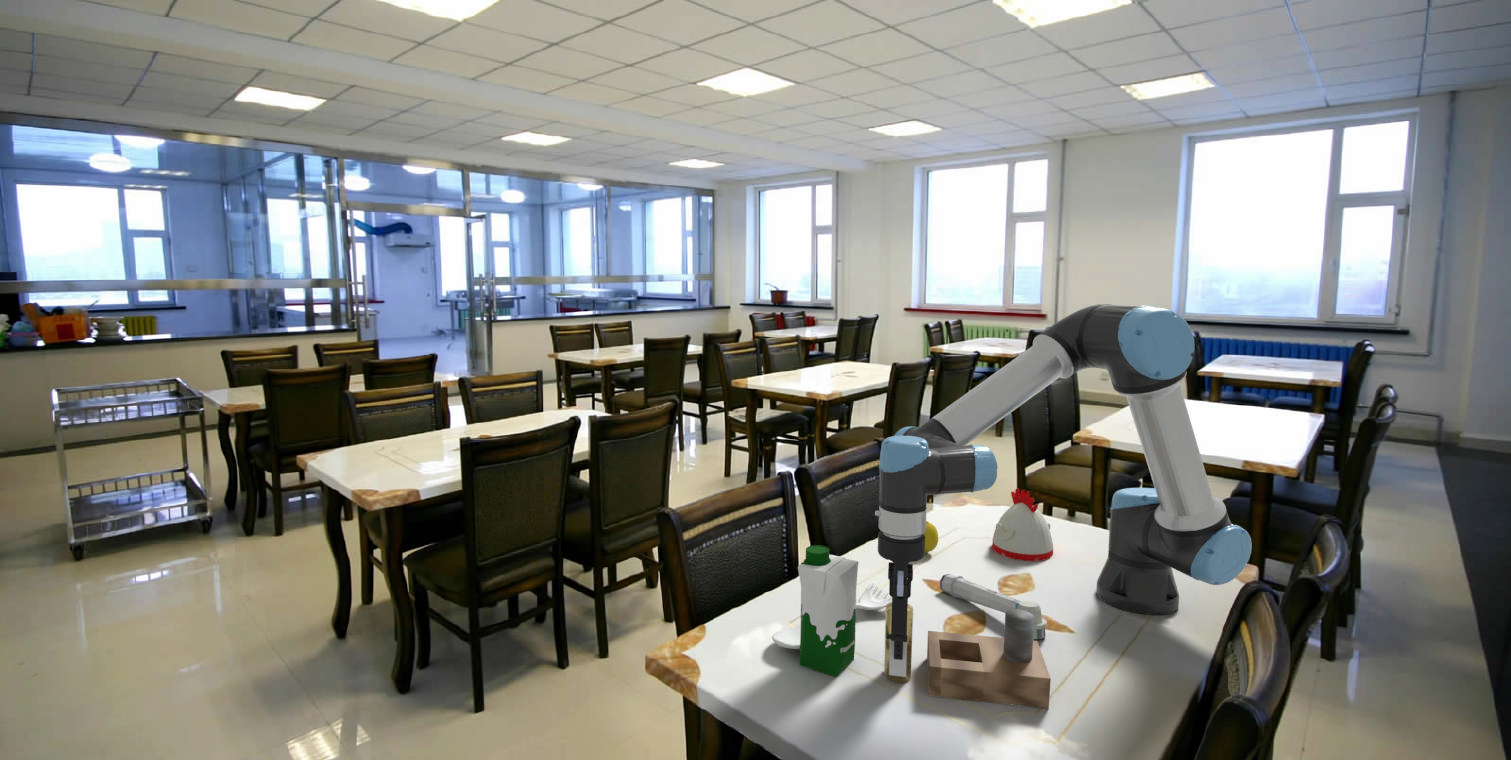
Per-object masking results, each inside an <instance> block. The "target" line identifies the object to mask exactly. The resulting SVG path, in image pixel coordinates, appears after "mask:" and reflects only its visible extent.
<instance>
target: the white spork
mask: <svg viewBox="0 0 1511 760" xmlns="http://www.w3.org/2000/svg"><path fill="white" fill-rule="evenodd" d="M874 586H875V583H874V582H871V583H870V584H869V585H868V586H867V587H866V589H865V590H864V592H862V594H861V595H860V596H859V599H858V602H856V609H859V610H860V609H861V610H866V611H878V610H882V609H886V605H887V604H888V603H891V602H892V597H891V596H890V595H889V591H888V590H887V591H884V592H883V593H882V591H883V588H880V589H879V590H878V588H879V586H878V585H877V586H875V587H874ZM881 593H882V594H881ZM800 636H801V624H797V625H794V626H791V627H788V628H785V629H782V630H780V631H778V632H777V631H776V633H774V634H773V635H772V636H771V639H772V641H773V642H774V644H776V645H777V646H779V647H780V648H784V649H791V650H800Z"/></svg>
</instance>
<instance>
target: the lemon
mask: <svg viewBox="0 0 1511 760" xmlns="http://www.w3.org/2000/svg"><path fill="white" fill-rule="evenodd" d="M923 534H924V535H925V555H926V554H928V553H929V552H932V551H934V550H935V549H936V548H937V546H938V542H939V532H938V529H937V528H936V526H935V525H934V524H933V523H931V522H929V521H927V520H926V531H925V533H923Z"/></svg>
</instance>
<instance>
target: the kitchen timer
mask: <svg viewBox="0 0 1511 760" xmlns="http://www.w3.org/2000/svg"><path fill="white" fill-rule="evenodd" d="M1010 494H1011V495H1010V496H1011V498H1012V502H1013V505H1011V506H1010V507H1009V508H1008V509H1006V511H1005V512H1004V513H1003V514H1002V516H1000V518H999V520H998V522H997V523H996V524H995V530H994V532H993V534H992V545H991V546H992V550H993V551H994V552H995V553H997V554H998V555H1000V556H1003V557H1005V558H1008V559H1012V560H1018V561H1024V562H1025V561H1027V562H1028V561H1029V562H1037V561H1038V562H1039V561H1045V560H1046V561H1047V560H1049V559H1051V558H1052V557H1053V556H1054V541H1053V538H1052V534H1051V523H1049V522H1047V520H1046V518H1045V516H1044V515H1043V514H1042V512H1041V511H1040V510H1039V509H1038V508H1039V503H1037V504H1034V502H1035V497H1031V494H1030V491H1026V489H1021V490H1020V488H1019V487H1018V488H1015V489H1014V491H1011V492H1010Z"/></svg>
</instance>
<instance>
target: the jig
mask: <svg viewBox="0 0 1511 760" xmlns="http://www.w3.org/2000/svg"><path fill="white" fill-rule="evenodd" d="M1004 616H1005V617H1004V632H1003V633H1004V634H1003V637H999V636H990V635H989V636H988V635H978V634H977V635H976V634H966V633H956V632H947V631H946V632H943V631H936V630H934V631H933V630H927V649H926V651H927V652H926V662H927V663H926V664H927V666H926V667H927V683H928V696H929V697H937V698H948V699H956V700H965V701H966V700H967V701H974V702H982V701H983V703H993V704H1001V705H1009V704H1013V705H1012V706H1018V705H1020V706H1021V707H1030V708H1036V709H1038V708H1039V709H1046V710H1047V709H1048V710H1049V709H1050V695H1051V693H1050V692H1051V680H1052V679H1051V676H1050V674H1049V670H1048V668H1047V667H1048V666H1047V665H1046V662H1045V659H1044V656H1043V653H1042V650H1041V648H1040V645H1039V641H1038V640H1034V639H1033V633H1034V616H1033V615H1032V614H1031V613H1029V612H1027V611H1024V610H1018V609H1012V610H1008V611H1006V613H1004ZM1020 706H1019V707H1020Z"/></svg>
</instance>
